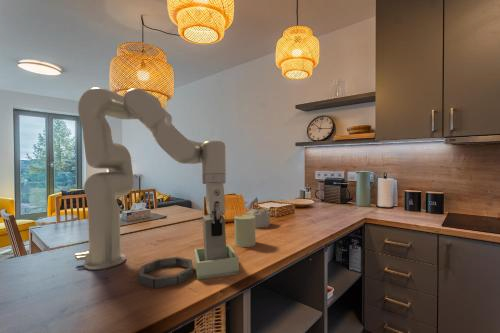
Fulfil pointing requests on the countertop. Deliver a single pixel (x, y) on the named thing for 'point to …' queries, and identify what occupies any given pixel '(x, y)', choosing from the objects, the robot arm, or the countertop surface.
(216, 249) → the skincare box
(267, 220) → the lumpy-topped squat cylinder
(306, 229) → the countertop surface
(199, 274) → the bin
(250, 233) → the can
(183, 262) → the socket ring
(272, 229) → the countertop surface
